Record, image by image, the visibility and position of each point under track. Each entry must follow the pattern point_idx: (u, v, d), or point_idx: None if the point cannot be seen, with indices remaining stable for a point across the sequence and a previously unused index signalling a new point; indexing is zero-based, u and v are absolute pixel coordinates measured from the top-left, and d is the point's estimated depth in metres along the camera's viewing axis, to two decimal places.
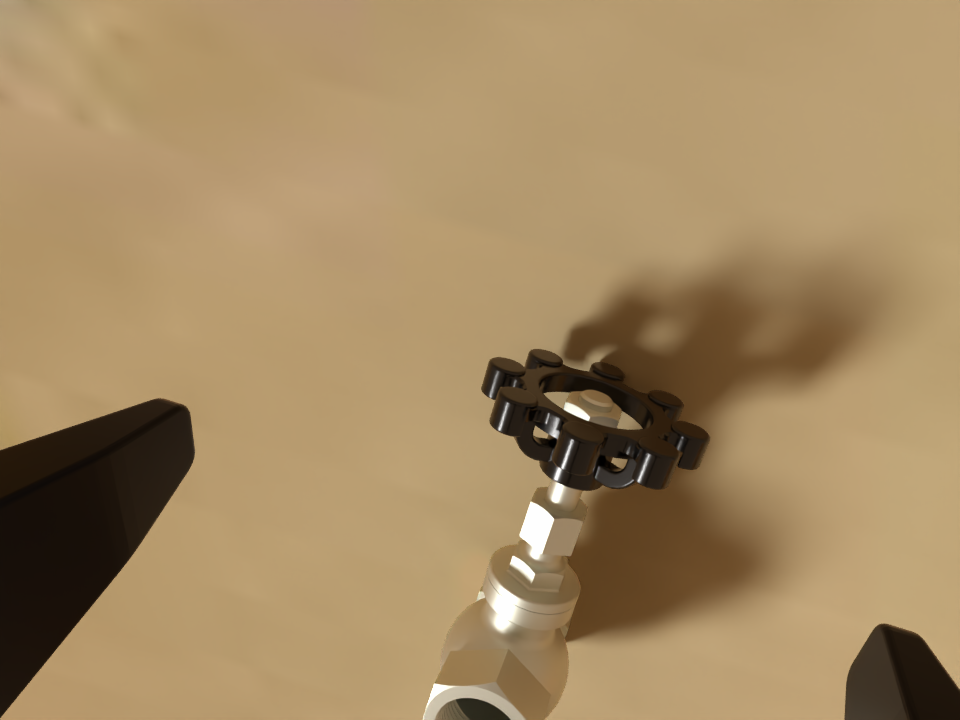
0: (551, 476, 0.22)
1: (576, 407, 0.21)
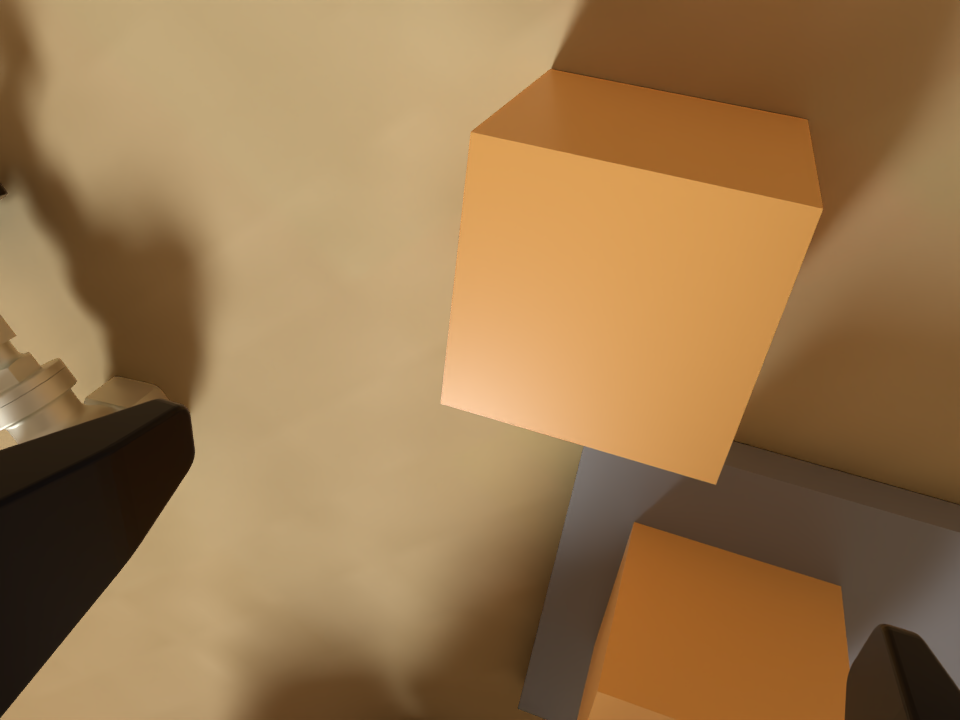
0: None
1: None
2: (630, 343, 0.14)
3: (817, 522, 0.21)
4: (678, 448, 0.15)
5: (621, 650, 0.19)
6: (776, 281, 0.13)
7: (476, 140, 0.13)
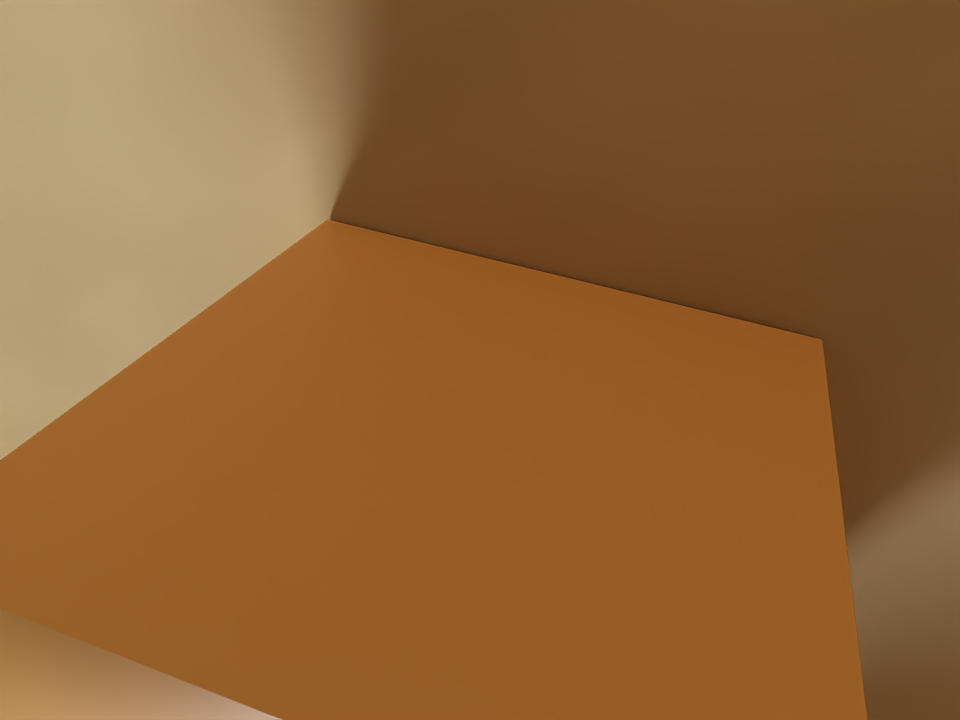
0: None
1: None
2: None
3: None
4: None
5: None
6: None
7: None
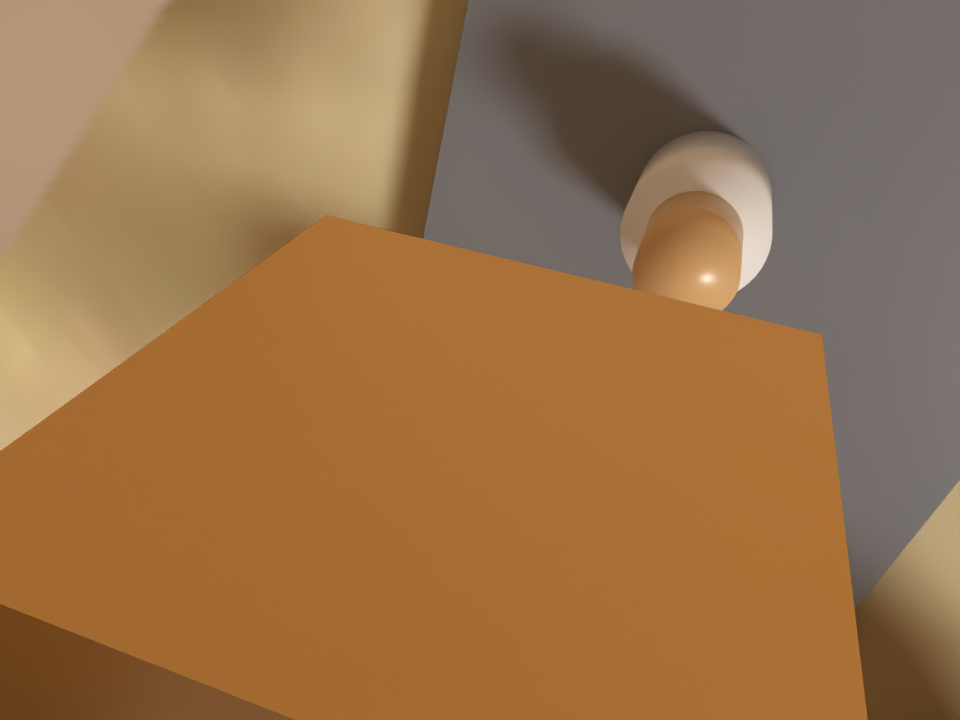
0: None
1: None
2: None
3: None
4: None
5: None
6: None
7: None
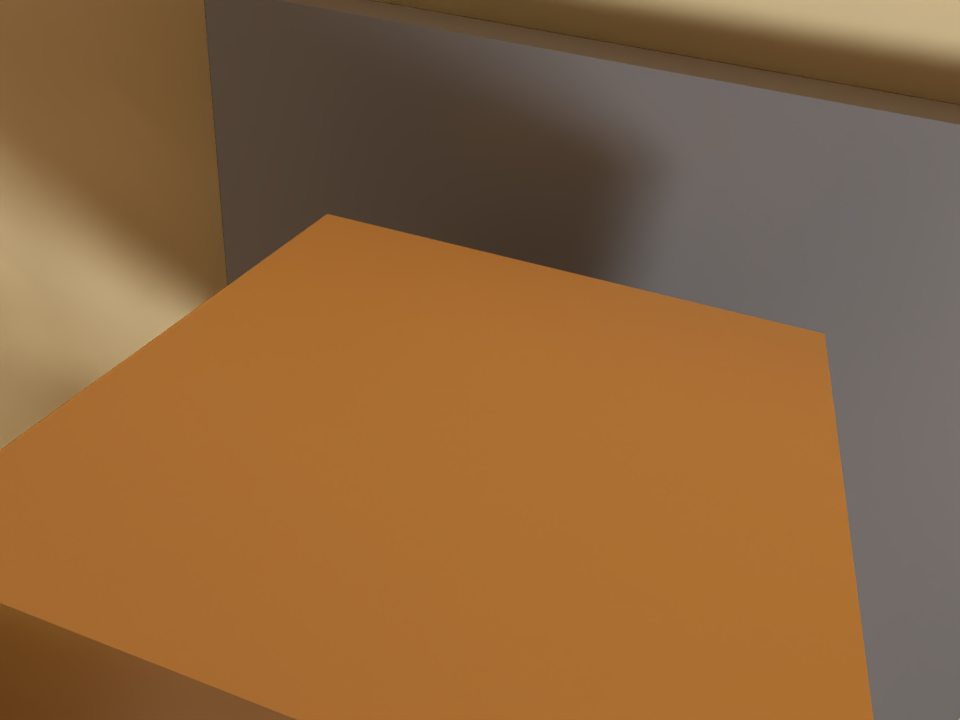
0: None
1: None
2: None
3: None
4: None
5: None
6: None
7: None
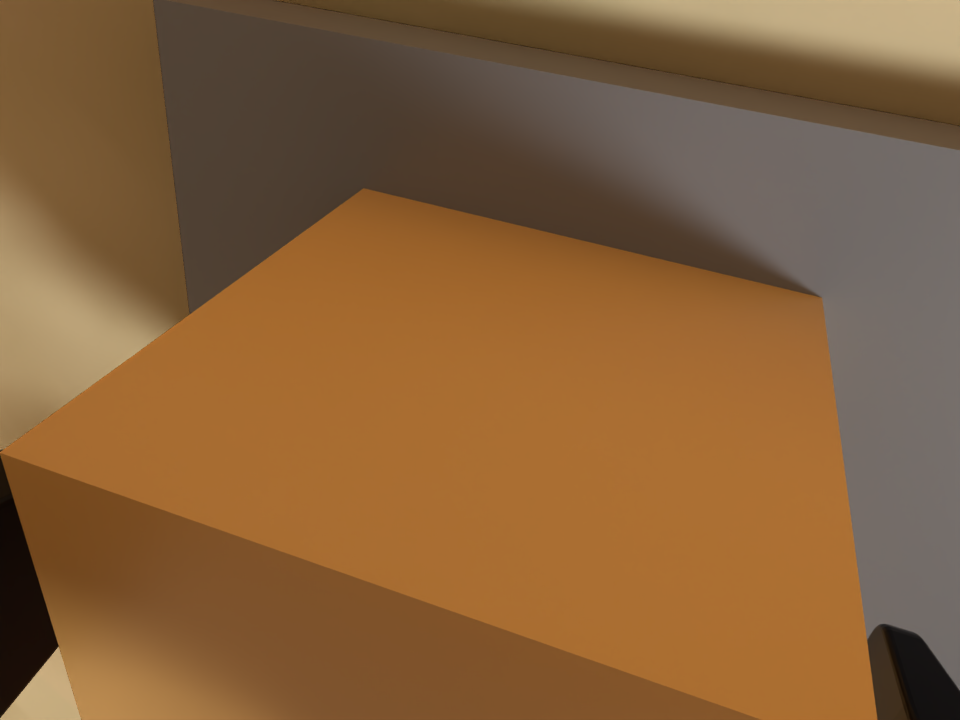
0: None
1: None
2: None
3: None
4: None
5: None
6: None
7: (16, 471, 0.05)
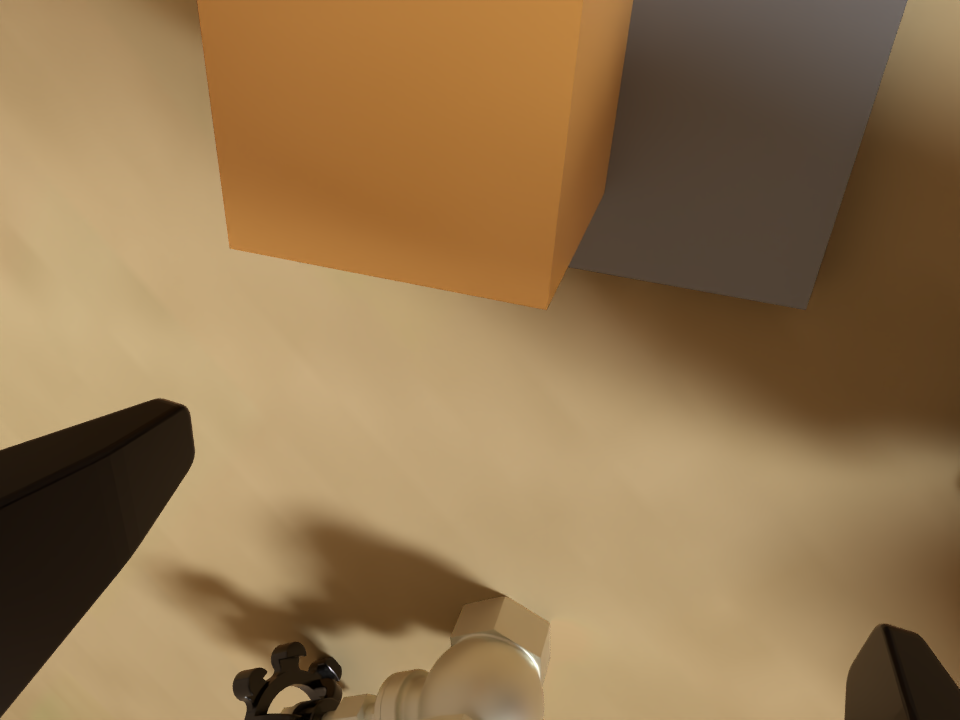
0: None
1: None
2: None
3: None
4: None
5: None
6: None
7: None
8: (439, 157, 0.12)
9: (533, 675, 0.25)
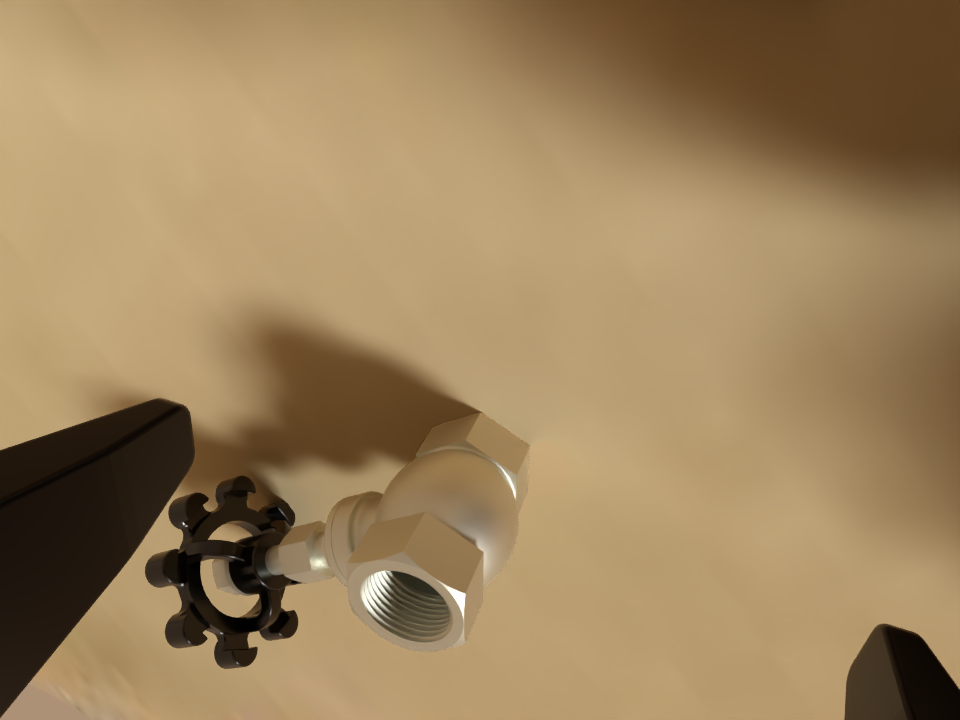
0: (268, 589, 0.26)
1: (228, 591, 0.27)
2: None
3: None
4: None
5: None
6: None
7: None
8: None
9: (508, 488, 0.22)
